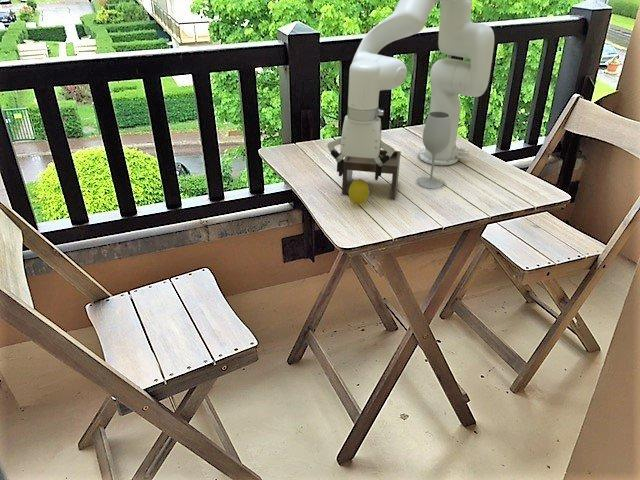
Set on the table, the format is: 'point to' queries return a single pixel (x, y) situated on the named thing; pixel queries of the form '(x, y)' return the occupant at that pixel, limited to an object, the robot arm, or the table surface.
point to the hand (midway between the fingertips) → (358, 176)
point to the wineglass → (435, 142)
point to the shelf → (371, 169)
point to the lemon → (358, 192)
